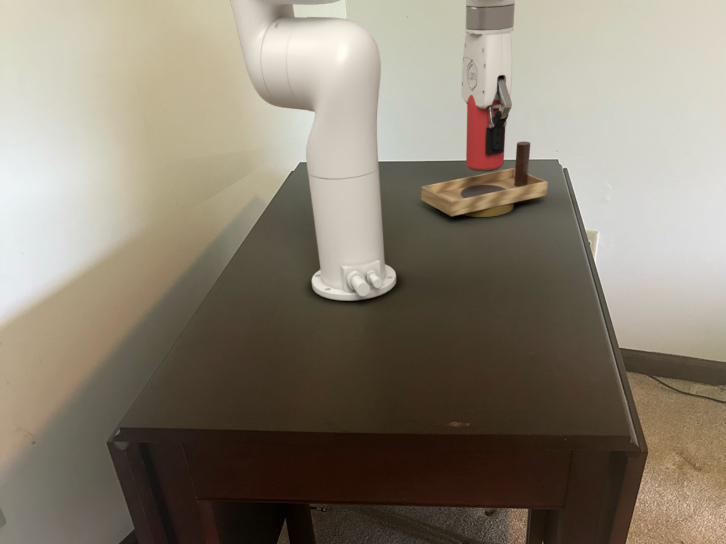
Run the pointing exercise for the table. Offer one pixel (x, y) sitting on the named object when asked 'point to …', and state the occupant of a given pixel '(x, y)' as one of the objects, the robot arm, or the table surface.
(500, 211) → the turntable base
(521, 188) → the tray
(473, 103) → the beer can
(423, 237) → the table surface
